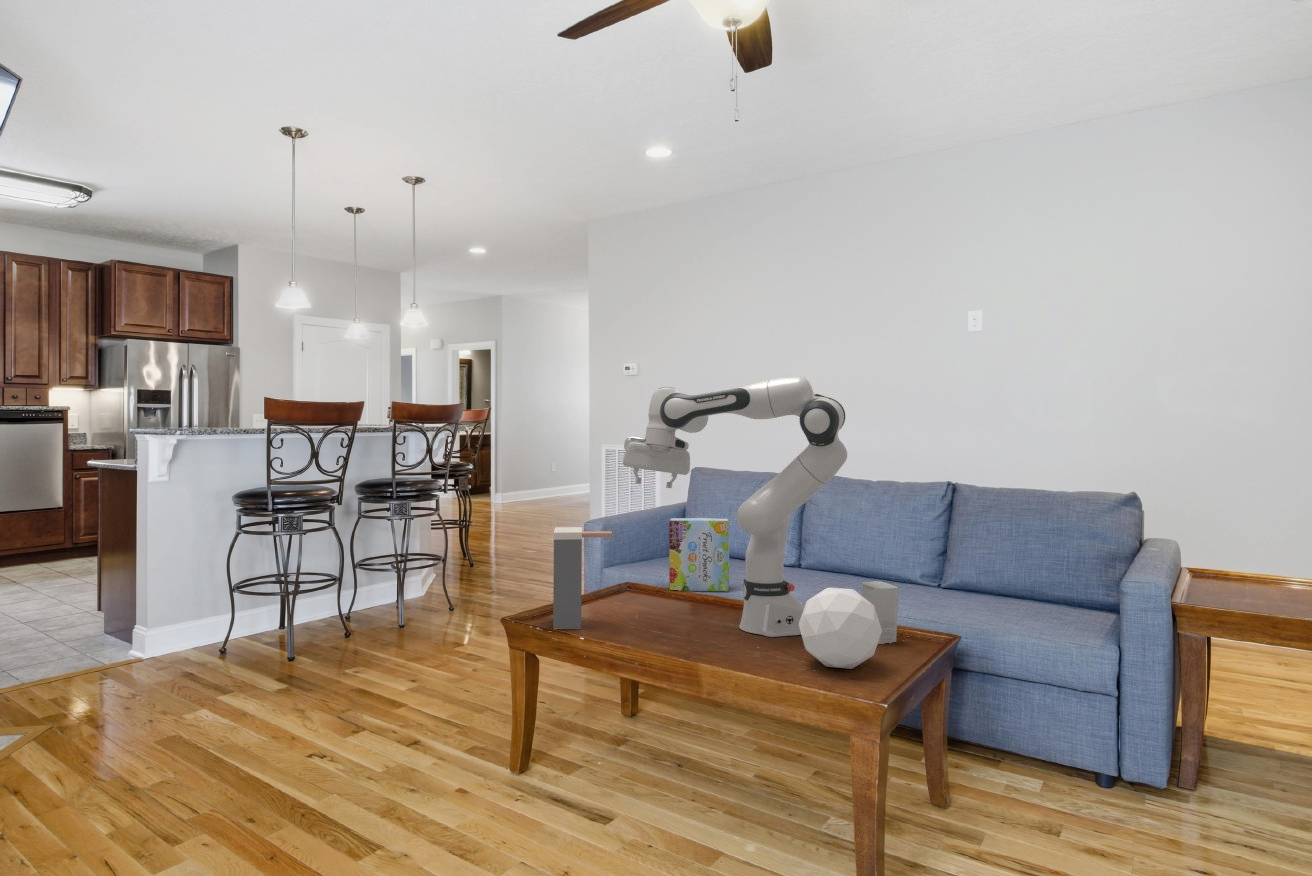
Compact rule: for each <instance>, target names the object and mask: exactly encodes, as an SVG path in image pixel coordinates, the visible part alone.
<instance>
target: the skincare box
mask: <svg viewBox="0 0 1312 876" xmlns="http://www.w3.org/2000/svg"><path fill="white" fill-rule="evenodd" d="M899 588H900V587H898V586H896V585H893V584H890V583H887V582H883V581H880V580H876V581H875V580H874V581H865V582H864V581H863V582H862V583H861V596H862V597H864V598H865V599H866V600H867V601H869V602H870V603H871V604H873V605H874V607H875V610H876V613H877V617H878V620H879V623H880V626H881V629H882V633H881V636H880V638H879V641H878V644H881V645H886V644H885V643H889V644H893V643H892V642H896V643H897V632H898V631H897V630H898V609H899V608H898V607H899V592H900V591H899V590H900V589H899ZM878 644H877V645H878Z"/></svg>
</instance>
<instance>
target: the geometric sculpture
mask: <svg viewBox="0 0 1312 876" xmlns="http://www.w3.org/2000/svg"><path fill="white" fill-rule="evenodd" d="M804 606H805V607H804V610H803V613H802V616H801V619H800V621H799V628H800V631H801V639H802V641H803V645H804V648H805V650H806V651H807V652H808V653H809V654H810V655H811V656H813V657H814V658H815V659H816V660H818V661H819V662H820V663H821V664H823V666H825V667H827V668H828V667H829V668H837V669H838V668H840V669H849V670H850V669H851V670H853V669H854V668H855V667H857V666H859V665H860V664H862V663H864V662H865V661H867V660H868V659H869V660H870V658H872V657H874V655H875V652H876V650H877V646H878V641H879V638H880V636H881V633H882V629H881V626H880V623H879V620H878V617H877V613H876V610H875V607H874V605H873V604H871V603H870V602H869V601H867V600H866V599H865V598H864V597H862V594H861V593H859V592H857V591H856V590H855V589H854V588H843V587H842V588H840V587H826V588H825V589H823V590H821V591H819V592H818V593H817V594H815V595H813V596H812V597H810V598H809V599H808V600H806V602H805V604H804Z"/></svg>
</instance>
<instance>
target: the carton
mask: <svg viewBox="0 0 1312 876" xmlns="http://www.w3.org/2000/svg"><path fill="white" fill-rule="evenodd" d="M582 553H583V538H582V539H568V540H554V539H553V588H552V589H553V592H552V595H553V597H552V598H553V600H552V601H553V605H552V606H553V609H552V611H553V614H552V617H553V618H552V620H553V621H552V628H564V629H581V630H582V582H583V581H582V578H583V577H582V574H583V573H582V570H583V567H582V566H583V565H582V563H583V557H582V556H583V554H582Z"/></svg>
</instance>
